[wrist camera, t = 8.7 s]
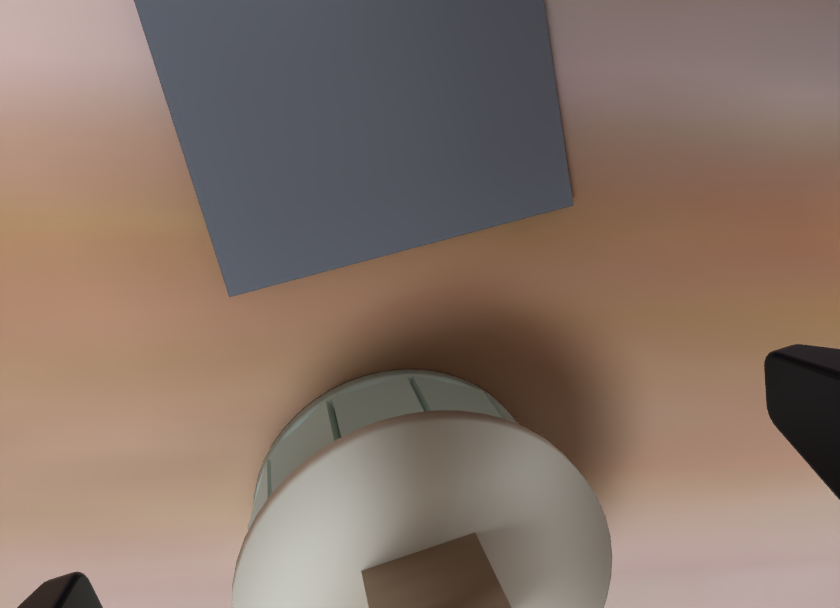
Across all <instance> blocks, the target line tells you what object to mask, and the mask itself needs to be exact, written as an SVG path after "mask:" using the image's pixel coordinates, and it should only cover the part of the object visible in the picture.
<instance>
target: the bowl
mask: <svg viewBox="0 0 840 608" xmlns="http://www.w3.org/2000/svg"><path fill="white" fill-rule="evenodd" d="M433 410H460V411H468V412H476V413H484V414H488V415H491V416H495V417H499V418H503V419H507V420H509V421H511V422H514V423H516V424H518V423H517V422H516V421H515V419H514V418H513V417H512V416H511V414H510V413H509V412H508V411H507V410H506V409H505V407H504V406H503V405H502V404H501V403H500V402H498V401H497V400H496V399H495V398H494V397H493V396H491V395H490V394H489V393H487V392H486V391H484V390H482V389H481V388H479V387H478V386H476V385H474V384H472V383H470V382H468V381H465V380H463V379H461V378H458V377H455V376H452V375H448V374H445V373H441V372H434V371H428V370H411V369H403V370H393V371H384V372H379V373H375V374H370V375H366V376H363V377H360V378H357V379H354V380H352V381H349V382H346V383H344V384H342V385H340V386H338V387H336V388H334V389H332V390H330V391H328V392H327V393H325V394H323V395H322V396H320V397H319V398H317V399H316V400H314V401H313V402H311V403H310V404H309V405H308V406H307V407H305V408H304V409H303V410H302V411H301V412H299V413H298V414H297V415H296V416H295V417H294V418H293V419H292V420H291V422H290V423H289V424H288V425H287V426H286V427H285V428H284V429H283V430H282V432H281V433H280V435H279V436H278V437H277V439H276V440H275V442H274V443H273V445H272V446H271V448H270V450H269V452H268V454H267V456H266V458H265V460H264V462H263V464H262V467H261V470H260V473H259V475H258V478H257V483H256V488H255V492H254V502H253V510H252V513H251V517H250V521H249V524H248V531H249V529H250V527H251V525H252V523H253V521H254V519H255V517H256V515H257V514H258V512H259V511H260V509H261V508H262V507H263V505H264V504H265V502H266V501H267V499H268V498H269V496H270V495H271V494H272V493H273V492H274V491H275V489H276V488H277V487H278V486H279V485H280V484H281V483H282V482H283V481H284V480H285V478H286V477H287V476H288V475H289V474H290V473H292V472H293V471H294V470H295V469H296V468H297V467H299V466H300V465H301V464H302V463H303V462H304V461H305V460H307V459H308V458H309V457H311V456H312V455H313V454H315V453H316V452H318V451H319V450H321V449H322V448H324V447H325V446H327V445H328V444H330V443H331V442H333V441H335V440H337V439H339V438H341V437H343V436H345V435H347V434H349V433H351V432H352V431H354V430H357V429H359V428H362V427H365V426H367V425H370V424H373V423H375V422H378V421H380V420H384V419H388V418H392V417H396V416H400V415H404V414H409V413H417V412H425V411H433Z"/></svg>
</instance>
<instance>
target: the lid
mask: <svg viewBox="0 0 840 608" xmlns="http://www.w3.org/2000/svg"><path fill="white" fill-rule="evenodd" d="M611 568H612V549H611V539H610V533H609V529H608V525H607V521H606V517H605V514H604V512H603V510H602V507H601V505H600V503H599V500H598V498H597V496H596V495H595V493H594V492H593V490H592V488H591V487H590V485H589V484H588V482H587V480H586V479H585V478H584V477H583V476H582V474H581V473H580V472H579V471H578V470H577V468H576V467H575V466H574V465H573V464H572V463H571V462H570V460H569V459H568V458H567V457H566V456H565V455H564V454H563V453H562V452H561V451H560V450H559V449H557V448H556V447H555V446H554V445H553V444H551V443H550V442H549V441H548V440H546V439H545V438H543V437H541V436H540V435H538V434H536V433H535V432H533V431H531V430H530V429H528V428H526V427H523V426H521V425H519V424H516V423H514V422H511V421H509V420H507V419H503V418H499V417H495V416H491V415H488V414H484V413H476V412H468V411H460V410H433V411H425V412H417V413H409V414H404V415H400V416H396V417H392V418H388V419H384V420H380V421H378V422H375V423H373V424H370V425H367V426H365V427H362V428H359V429H357V430H354V431H352V432H351V433H349V434H347V435H345V436H343V437H341V438H339V439H337V440H335V441H333V442H331V443H330V444H328V445H327V446H325V447H324V448H322V449H321V450H319V451H318V452H316V453H315V454H313V455H312V456H311V457H309V458H308V459H307V460H305V461H304V462H303V463H302V464H301V465H300V466H299V467H297V468H296V469H295V470H294V471H293V472H292V473H290V474H289V475H288V476H287V477H286V478H285V480H284V481H283V482H282V483H281V484H280V485H279V486H278V487H277V488H276V489H275V491H274V492H273V493H272V494H271V495H270V496H269V498H268V499H267V501H266V502H265V504H264V505H263V507H262V508H261V509H260V511H259V512H258V514H257V515H256V517H255V519H254V521H253V523H252V525H251V527H250V529H249V531H248V533H247V534H246V536H245V538H244V541H243V544H242V547H241V550H240V553H239V556H238V559H237V562H236V568H235V573H234V579H233V586H232V608H604V605H605V602H606V599H607V595H608V590H609V585H610V579H611Z"/></svg>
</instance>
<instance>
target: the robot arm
mask: <svg viewBox="0 0 840 608" xmlns="http://www.w3.org/2000/svg"><path fill="white" fill-rule="evenodd" d="M764 369H765V385H766V402H767V410H768V413H769V416H770V418H771V420H772V422H773V423H774V425H775V426H776V427H777V429H778V430H779V431H780V432H781V433H782V434H783V435H784V437H785V438H786V439H787V440H788V441H789V442H790V443H791V445H792V446H793V447H794V448H795V449H796V450H797V452H798V453H799V454H800V455H801V456H802V457H803V458H804V460H805V461H806V462H807V463H808V464H809V465H810V467H811V468H812V469H813V470H814V471H815V472H816V473H817V475H818V476H819V477H820V478H821V479H822V480H823V481H824V483H825V484H826V485H827V486H828V487H829V488H830V490H831V491H832V492H833V493H834V494H835V495H836V496H837V497H838V499H839V500H840V349H834V348H826V347H818V346H810V345H802V344H796V345H791V346H788V347H784V348H781V349H778V350H775V351H772V352H770V353H769V354H768V355H767V356H766V359H765V363H764ZM17 608H103V607H102V605H101V603H100V601H99V599H98V597H97V595H96V593H95V591H94V589H93V587H92V585H91V583H90V581H89V579H88V578H87V577H86V576H85V575H84V574H83V573H81V572H73V573H70V574H66V575H63V576H60V577H57V578H54V579H51V580H48V581H46V582H44V583H43V584H42V585H41V586H39V587H38V588H37V589H36V590H35V591H34V592H33V593H32V594H31V595H30V596H29V597H28V598H27V599H26V600H25V601H24V602H23V603H21V604H20V605H19V606H18V607H17Z"/></svg>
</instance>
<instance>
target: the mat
mask: <svg viewBox="0 0 840 608" xmlns="http://www.w3.org/2000/svg"><path fill="white" fill-rule="evenodd" d="M134 2H135V5H136V8H137V11H138V14H139V17H140V20H141V24H142V27H143V30H144V33H145V36H146V39H147V42H148V45H149V48H150V52H151V55H152V58H153V61H154V64H155V67H156V70H157V73H158V76H159V80H160V83H161V86H162V89H163V92H164V95H165V98H166V101H167V104H168V108H169V111H170V114H171V117H172V120H173V123H174V126H175V129H176V132H177V136H178V139H179V142H180V145H181V148H182V151H183V154H184V157H185V160H186V163H187V167H188V170H189V173H190V176H191V179H192V182H193V185H194V188H195V191H196V195H197V198H198V201H199V204H200V207H201V210H202V213H203V216H204V219H205V223H206V226H207V229H208V232H209V235H210V238H211V241H212V244H213V247H214V251H215V254H216V257H217V260H218V263H219V266H220V269H221V272H222V275H223V279H224V282H225V285H226V288H227V291H228V294H229V297H231V296H235V295H239V294H243V293H246V292H250V291H254V290H258V289H261V288H265V287H269V286H273V285H276V284H280V283H284V282H288V281H291V280H295V279H299V278H303V277H306V276H310V275H314V274H318V273H321V272H325V271H329V270H333V269H336V268H340V267H344V266H348V265H351V264H355V263H359V262H363V261H366V260H370V259H374V258H378V257H381V256H385V255H389V254H393V253H396V252H400V251H404V250H408V249H411V248H415V247H419V246H422V245H426V244H430V243H434V242H437V241H441V240H445V239H449V238H452V237H456V236H460V235H464V234H467V233H471V232H475V231H479V230H482V229H486V228H490V227H494V226H497V225H501V224H505V223H509V222H512V221H516V220H520V219H524V218H527V217H531V216H535V215H539V214H542V213H546V212H550V211H554V210H557V209H561V208H565V207H569V206H572V205H573V199H572V193H571V186H570V179H569V172H568V165H567V158H566V151H565V144H564V137H563V131H562V124H561V117H560V110H559V103H558V96H557V89H556V82H555V75H554V69H553V62H552V55H551V48H550V41H549V34H548V27H547V20H546V13H545V7H544V0H134Z"/></svg>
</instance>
